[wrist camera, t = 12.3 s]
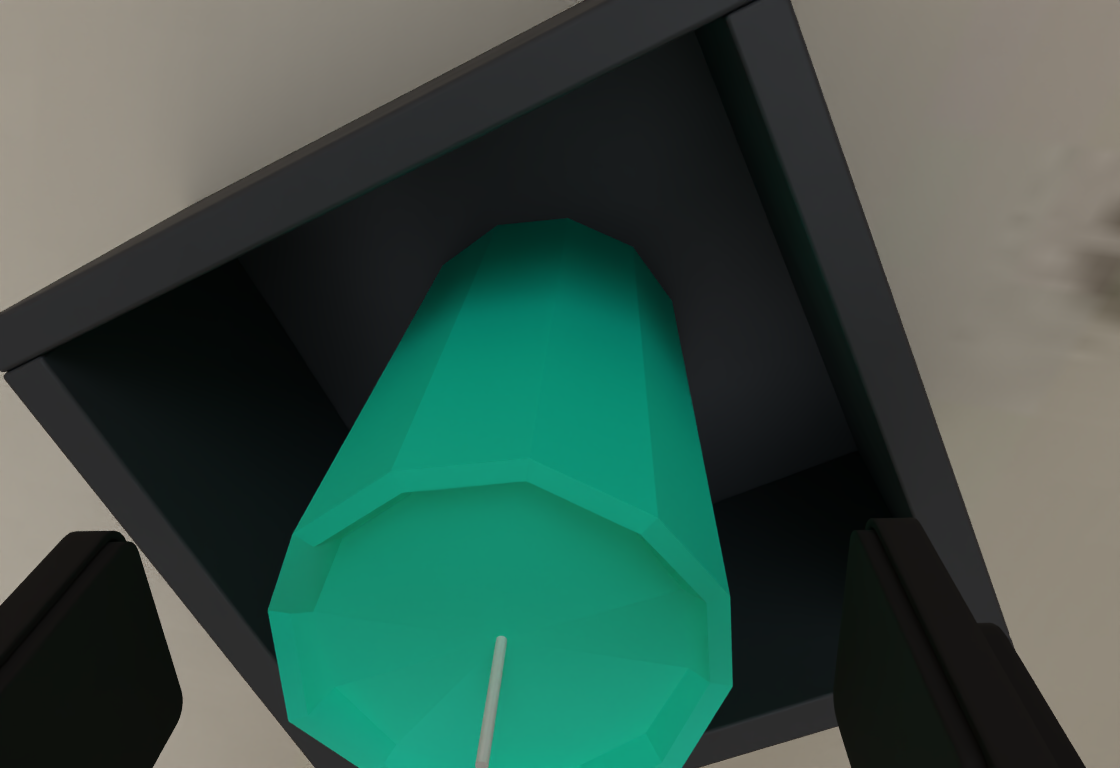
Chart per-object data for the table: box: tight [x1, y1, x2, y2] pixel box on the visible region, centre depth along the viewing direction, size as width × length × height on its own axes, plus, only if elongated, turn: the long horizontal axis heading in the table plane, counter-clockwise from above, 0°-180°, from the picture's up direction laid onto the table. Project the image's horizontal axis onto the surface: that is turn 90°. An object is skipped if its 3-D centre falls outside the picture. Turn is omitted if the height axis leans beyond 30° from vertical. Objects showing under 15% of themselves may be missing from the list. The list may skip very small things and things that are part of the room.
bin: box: [0, 0, 1014, 768], centre depth 18 cm, size 13×13×8 cm
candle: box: [268, 218, 733, 768], centre depth 15 cm, size 6×6×12 cm
